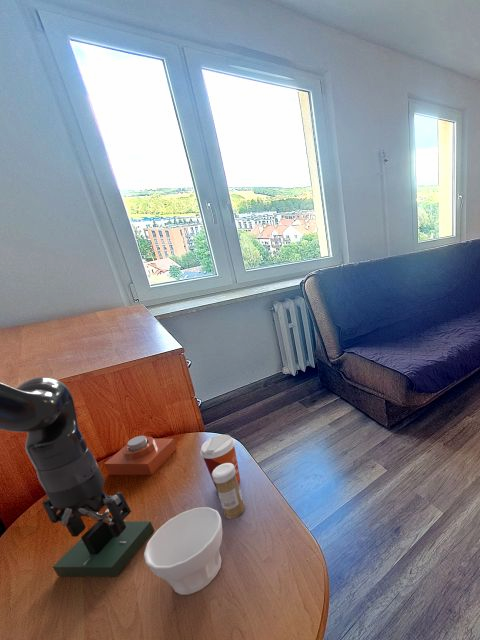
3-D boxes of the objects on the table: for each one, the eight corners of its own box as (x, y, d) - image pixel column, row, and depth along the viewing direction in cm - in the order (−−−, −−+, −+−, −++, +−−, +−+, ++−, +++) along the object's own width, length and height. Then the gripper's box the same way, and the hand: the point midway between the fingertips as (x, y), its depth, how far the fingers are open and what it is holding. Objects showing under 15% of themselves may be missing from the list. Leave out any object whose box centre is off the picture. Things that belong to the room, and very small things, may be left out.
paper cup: (234, 497, 85) (223, 454, 80) (205, 496, 85) (191, 454, 80) (250, 473, 93) (240, 432, 88) (223, 472, 93) (211, 432, 88)
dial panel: (58, 576, 68) (51, 566, 66) (102, 530, 77) (98, 520, 76) (116, 577, 68) (111, 566, 66) (154, 530, 77) (150, 520, 76)
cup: (201, 613, 62) (186, 574, 58) (143, 600, 64) (125, 562, 60) (245, 547, 73) (235, 511, 69) (195, 538, 75) (183, 502, 71)
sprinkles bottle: (248, 502, 84) (237, 461, 79) (239, 519, 80) (227, 477, 75) (230, 503, 84) (218, 462, 79) (220, 520, 79) (207, 477, 75)
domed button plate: (108, 474, 92) (101, 458, 90) (138, 448, 101) (131, 432, 99) (151, 475, 92) (145, 458, 90) (177, 449, 101) (171, 433, 99)
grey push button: (125, 451, 93) (123, 445, 92) (137, 441, 96) (135, 435, 96) (140, 451, 93) (137, 445, 92) (151, 441, 96) (149, 435, 96)
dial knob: (97, 554, 69) (88, 536, 67) (89, 554, 69) (80, 536, 67) (118, 531, 74) (110, 514, 72) (111, 531, 74) (103, 514, 72)
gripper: (11, 490, 61) (47, 550, 67) (89, 491, 61) (118, 551, 67) (54, 459, 68) (83, 516, 74) (124, 460, 68) (147, 517, 74)
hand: (99, 532), depth 70 cm, fingers open, 8 cm apart
